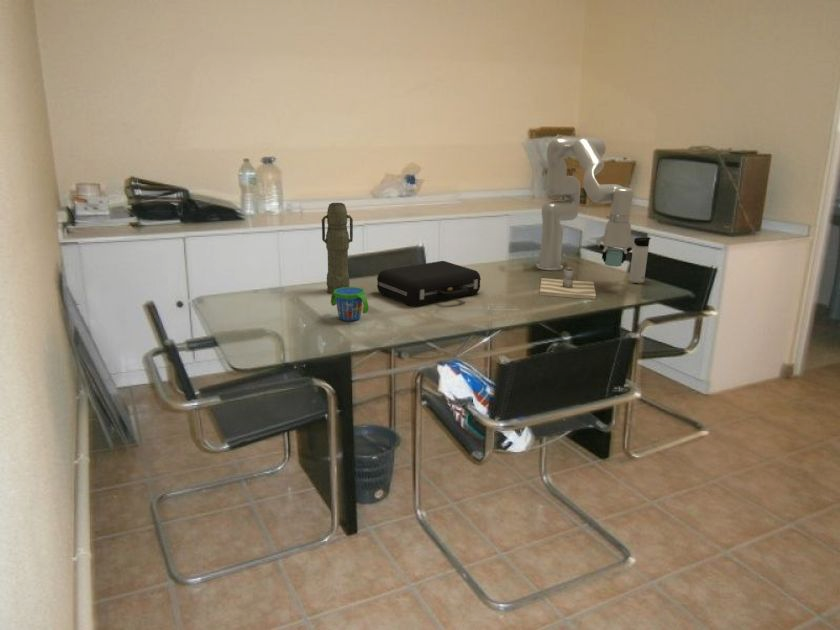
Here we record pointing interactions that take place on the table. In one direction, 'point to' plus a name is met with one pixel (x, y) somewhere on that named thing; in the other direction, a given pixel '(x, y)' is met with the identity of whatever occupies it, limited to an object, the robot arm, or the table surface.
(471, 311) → the table surface
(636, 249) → the travel mug
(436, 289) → the briefcase
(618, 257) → the teal cube
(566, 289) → the post board
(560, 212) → the robot arm
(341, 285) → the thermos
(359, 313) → the snack cup
